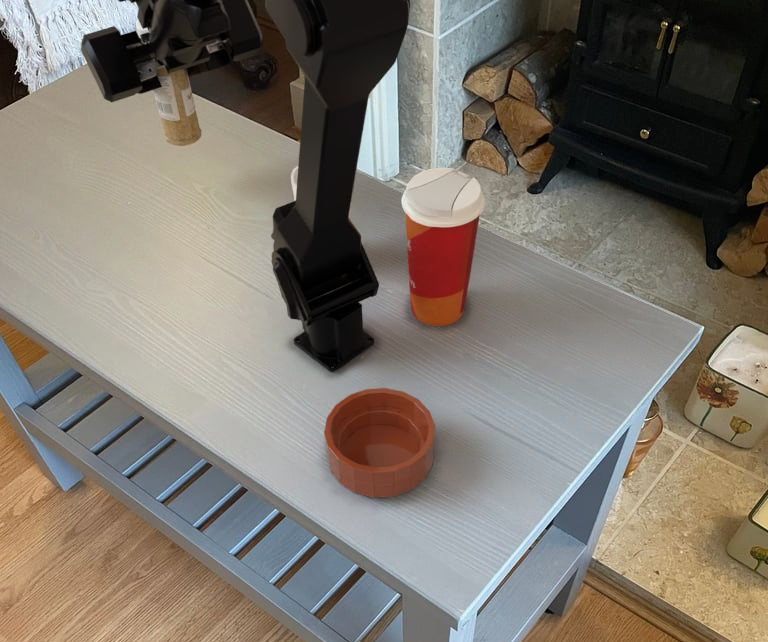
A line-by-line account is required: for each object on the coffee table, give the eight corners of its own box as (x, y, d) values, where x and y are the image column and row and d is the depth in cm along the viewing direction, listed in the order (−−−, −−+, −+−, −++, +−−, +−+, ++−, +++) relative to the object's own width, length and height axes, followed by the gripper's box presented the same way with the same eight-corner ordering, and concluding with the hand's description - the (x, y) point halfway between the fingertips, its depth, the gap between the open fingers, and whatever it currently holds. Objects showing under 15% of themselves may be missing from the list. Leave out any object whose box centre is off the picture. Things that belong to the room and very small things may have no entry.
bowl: (455, 458, 78) (457, 428, 75) (378, 520, 74) (377, 491, 71) (382, 403, 83) (381, 371, 79) (306, 458, 79) (301, 428, 75)
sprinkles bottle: (209, 138, 99) (184, 20, 88) (177, 152, 97) (148, 33, 86) (189, 123, 101) (162, 6, 90) (158, 136, 99) (126, 19, 88)
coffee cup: (430, 274, 94) (435, 154, 82) (488, 304, 91) (502, 184, 78) (385, 312, 90) (383, 193, 78) (444, 344, 87) (451, 225, 75)
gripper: (232, -98, 81) (206, -14, 95) (53, -51, 75) (55, 30, 89) (280, 16, 83) (248, 81, 98) (111, 69, 78) (103, 130, 92)
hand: (165, 78), depth 94 cm, fingers closed on sprinkles bottle, 4 cm apart
